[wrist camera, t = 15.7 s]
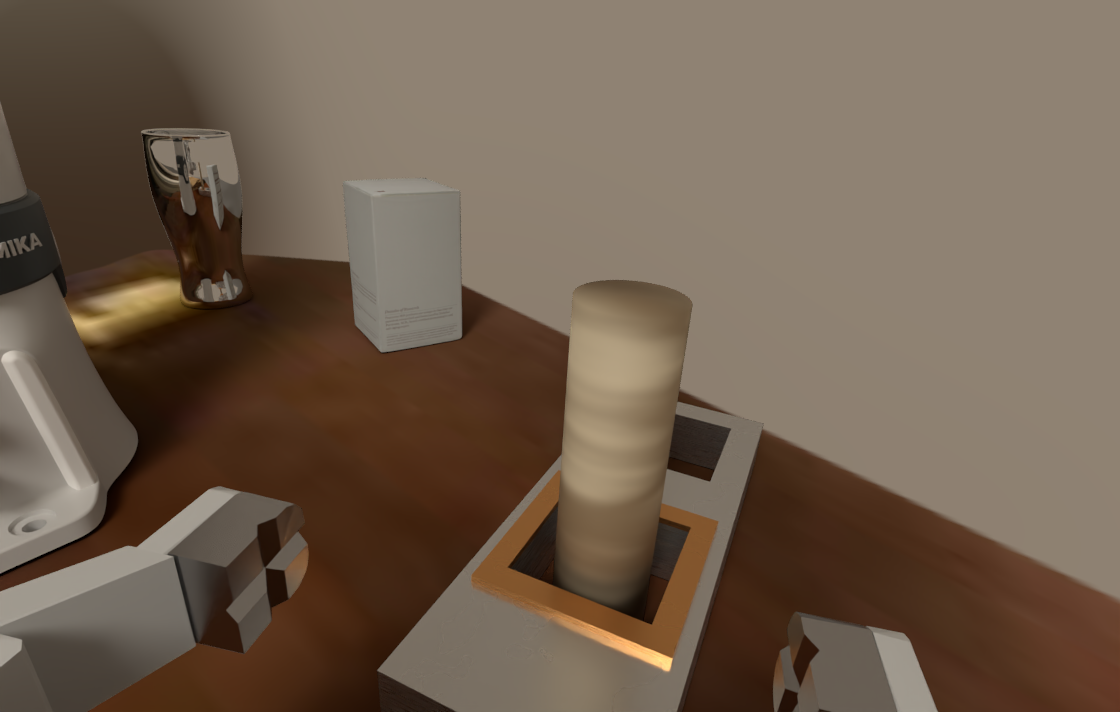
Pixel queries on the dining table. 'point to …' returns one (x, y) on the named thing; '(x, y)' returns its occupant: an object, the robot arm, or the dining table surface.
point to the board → (580, 602)
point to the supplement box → (405, 261)
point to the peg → (617, 437)
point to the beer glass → (200, 212)
